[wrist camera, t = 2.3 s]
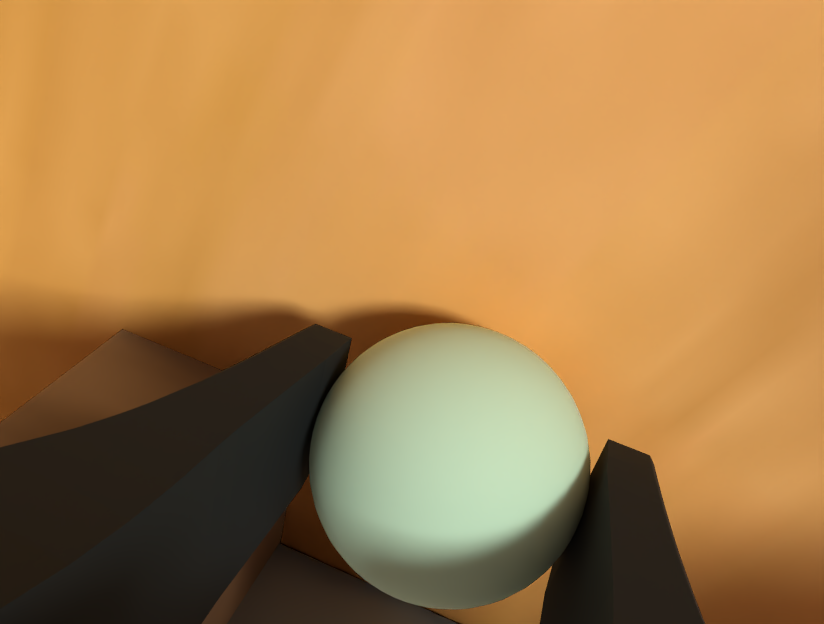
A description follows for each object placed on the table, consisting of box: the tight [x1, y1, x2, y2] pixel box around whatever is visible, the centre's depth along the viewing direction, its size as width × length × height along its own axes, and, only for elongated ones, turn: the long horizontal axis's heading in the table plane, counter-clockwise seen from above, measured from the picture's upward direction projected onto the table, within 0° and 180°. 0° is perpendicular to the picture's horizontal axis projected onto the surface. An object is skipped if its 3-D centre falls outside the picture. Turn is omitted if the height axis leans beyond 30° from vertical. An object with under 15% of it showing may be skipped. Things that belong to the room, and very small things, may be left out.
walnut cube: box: [0, 329, 287, 624], centre depth 14 cm, size 4×4×4 cm
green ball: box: [309, 323, 590, 609], centre depth 11 cm, size 4×4×4 cm
